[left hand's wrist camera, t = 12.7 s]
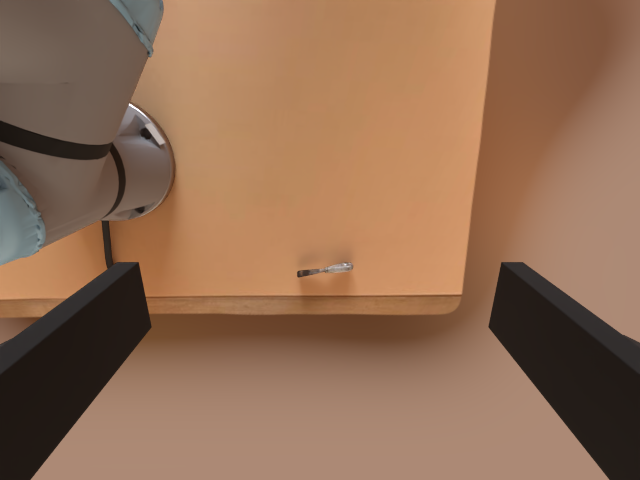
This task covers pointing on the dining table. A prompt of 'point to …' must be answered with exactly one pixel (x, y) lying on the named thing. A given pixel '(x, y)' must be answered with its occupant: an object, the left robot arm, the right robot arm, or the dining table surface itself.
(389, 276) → the dining table surface
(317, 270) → the putty knife
